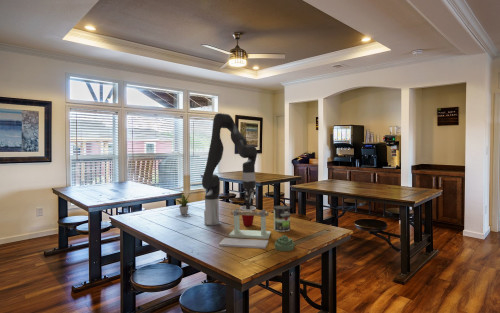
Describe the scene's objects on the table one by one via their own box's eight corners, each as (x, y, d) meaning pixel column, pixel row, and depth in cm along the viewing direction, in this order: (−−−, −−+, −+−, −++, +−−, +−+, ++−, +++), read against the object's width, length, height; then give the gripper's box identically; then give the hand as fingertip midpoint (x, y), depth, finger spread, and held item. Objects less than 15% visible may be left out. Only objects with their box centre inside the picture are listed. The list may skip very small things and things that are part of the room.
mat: (218, 245, 158) (218, 243, 158) (224, 239, 168) (224, 238, 168) (265, 248, 153) (265, 246, 153) (268, 242, 163) (268, 240, 163)
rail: (231, 215, 176) (231, 211, 176) (232, 214, 178) (232, 210, 178) (267, 216, 171) (267, 212, 171) (268, 215, 173) (268, 211, 173)
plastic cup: (245, 228, 189) (244, 209, 189) (237, 224, 199) (236, 206, 198) (259, 225, 195) (259, 207, 194) (251, 222, 204) (250, 204, 204)
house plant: (185, 210, 244) (185, 190, 243) (197, 212, 236) (197, 192, 235) (171, 214, 232) (171, 193, 231) (183, 216, 224) (183, 194, 223)
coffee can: (293, 230, 184) (293, 207, 183) (279, 232, 179) (279, 209, 178) (284, 226, 193) (283, 204, 192) (270, 228, 188) (270, 206, 187)
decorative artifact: (296, 250, 150) (290, 244, 159) (296, 236, 149) (290, 231, 159) (277, 252, 148) (272, 245, 158) (277, 238, 148) (272, 232, 158)
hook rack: (228, 237, 173) (228, 211, 172) (233, 231, 182) (233, 207, 182) (268, 239, 168) (267, 212, 167) (270, 233, 177) (270, 208, 177)
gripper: (245, 178, 181) (246, 205, 182) (239, 181, 168) (240, 210, 168) (257, 178, 180) (258, 205, 180) (252, 181, 166) (253, 210, 167)
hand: (249, 207), depth 174 cm, fingers open, 8 cm apart
